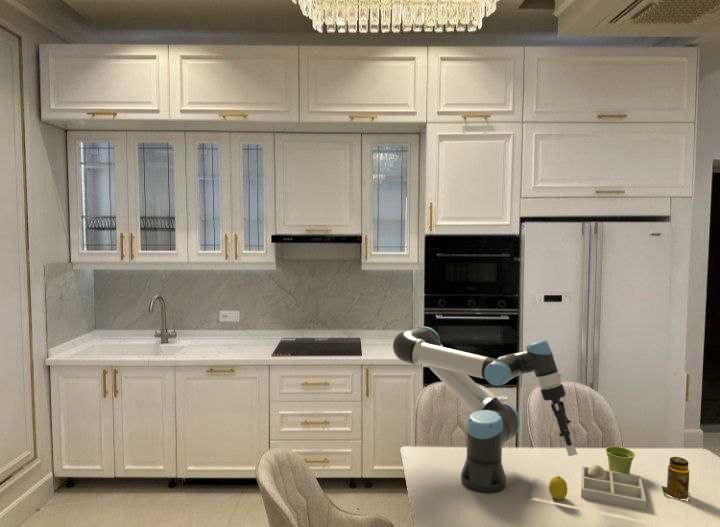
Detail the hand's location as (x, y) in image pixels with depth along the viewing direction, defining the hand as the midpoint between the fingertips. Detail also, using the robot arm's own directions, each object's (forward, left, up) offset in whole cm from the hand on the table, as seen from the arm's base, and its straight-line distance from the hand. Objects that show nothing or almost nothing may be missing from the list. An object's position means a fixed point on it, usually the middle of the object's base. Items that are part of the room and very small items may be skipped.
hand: (572, 449), depth 172 cm
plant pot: (+15, +19, -14) cm, 28 cm away
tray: (+12, +4, -14) cm, 19 cm away
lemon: (-4, -9, -14) cm, 17 cm away
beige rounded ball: (+8, +8, -13) cm, 17 cm away
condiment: (+31, +12, -14) cm, 36 cm away
